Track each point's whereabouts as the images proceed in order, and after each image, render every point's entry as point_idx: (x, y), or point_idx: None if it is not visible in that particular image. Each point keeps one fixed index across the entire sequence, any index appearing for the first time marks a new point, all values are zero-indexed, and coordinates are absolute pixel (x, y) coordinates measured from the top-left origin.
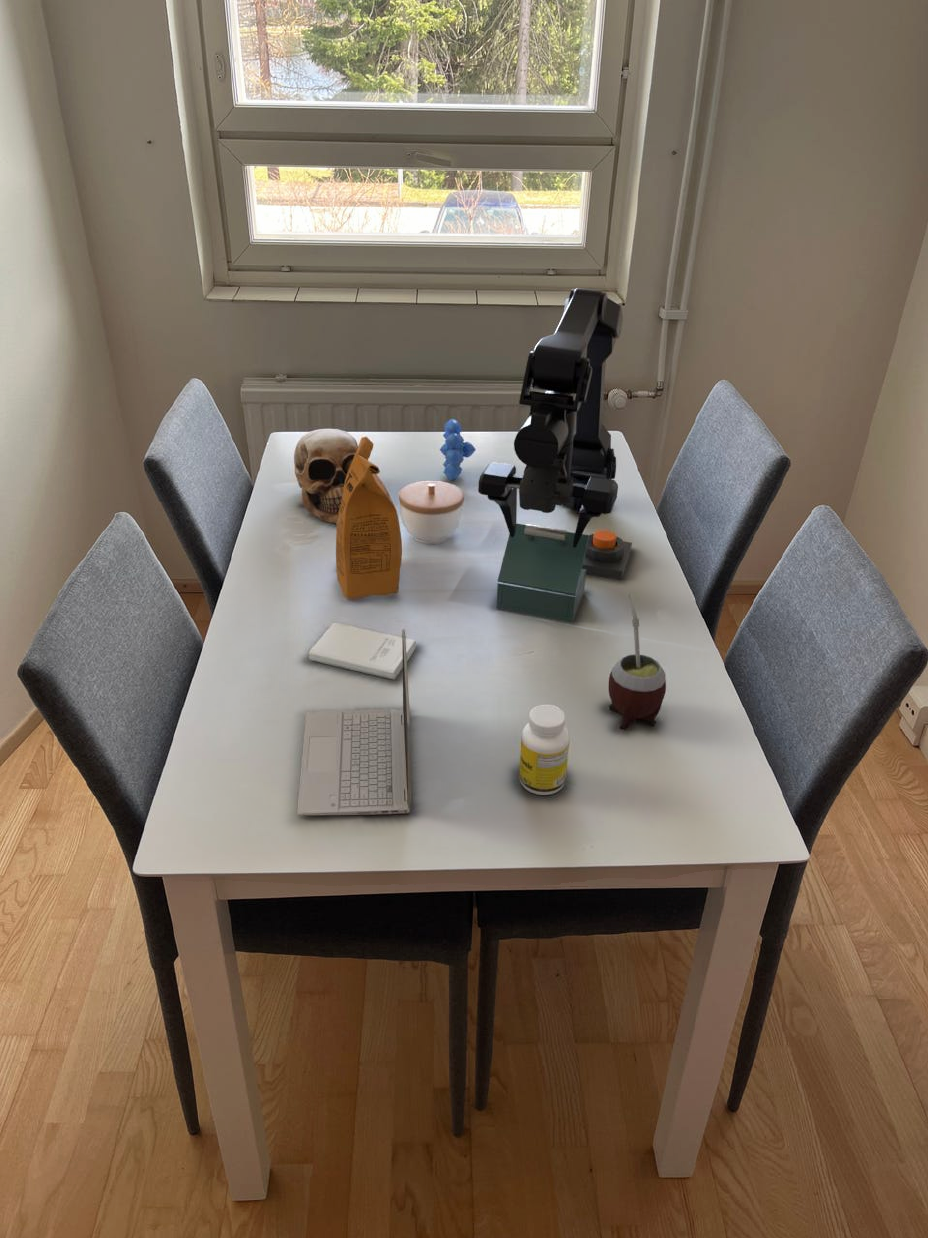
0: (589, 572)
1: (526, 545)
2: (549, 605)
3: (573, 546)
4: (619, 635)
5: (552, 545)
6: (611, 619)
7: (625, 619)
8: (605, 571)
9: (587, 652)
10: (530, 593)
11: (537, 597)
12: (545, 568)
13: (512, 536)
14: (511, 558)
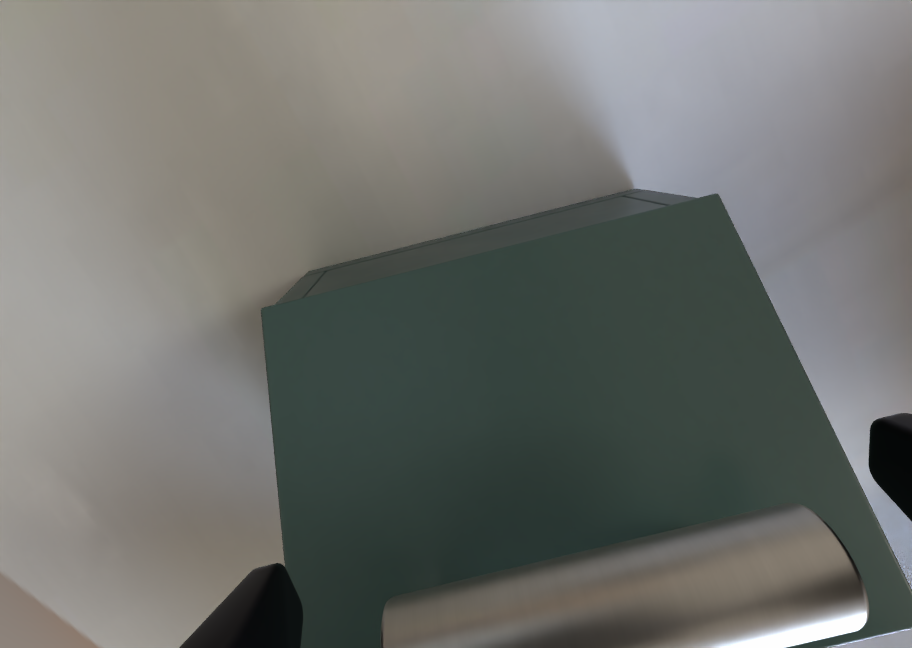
0: None
1: (698, 478)
2: (406, 257)
3: (272, 569)
4: (96, 292)
5: (524, 558)
6: (193, 378)
7: (149, 407)
8: None
9: (119, 86)
10: (510, 241)
11: (470, 248)
12: (489, 376)
13: (889, 418)
14: (732, 345)
